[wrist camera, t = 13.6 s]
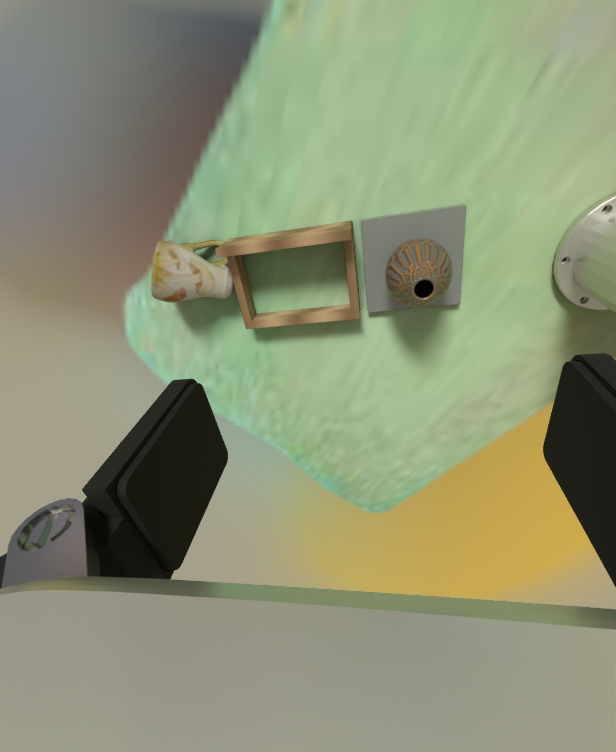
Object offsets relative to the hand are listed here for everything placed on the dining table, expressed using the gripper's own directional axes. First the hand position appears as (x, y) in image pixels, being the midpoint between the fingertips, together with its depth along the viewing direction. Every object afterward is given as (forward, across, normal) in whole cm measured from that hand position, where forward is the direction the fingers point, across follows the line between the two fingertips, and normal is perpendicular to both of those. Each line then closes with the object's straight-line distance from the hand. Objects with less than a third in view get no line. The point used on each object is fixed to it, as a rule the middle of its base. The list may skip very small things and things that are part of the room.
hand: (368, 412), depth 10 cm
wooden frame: (+36, +10, +6) cm, 38 cm away
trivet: (+36, -4, +6) cm, 37 cm away
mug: (+37, +22, +4) cm, 43 cm away
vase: (+36, -5, +6) cm, 37 cm away
